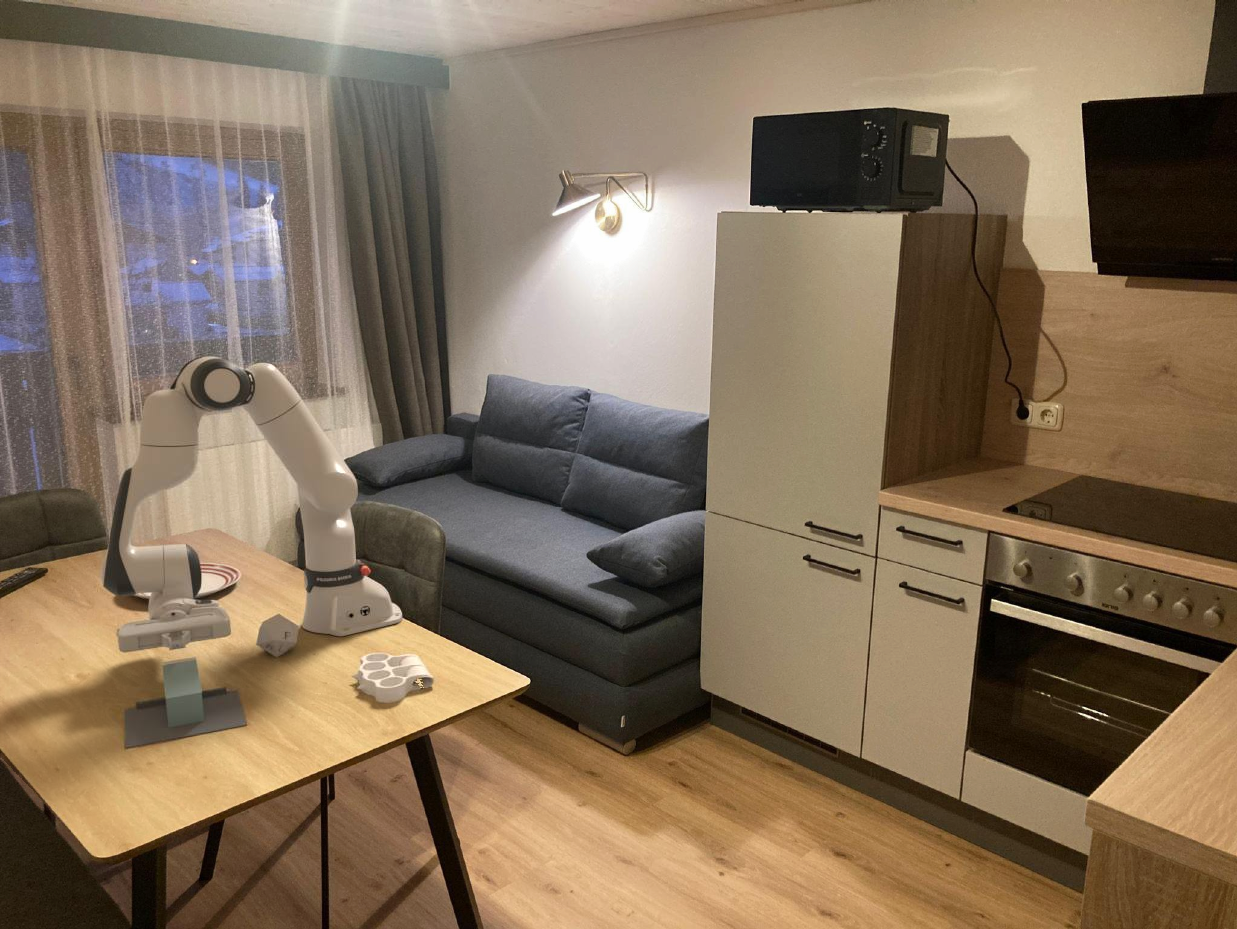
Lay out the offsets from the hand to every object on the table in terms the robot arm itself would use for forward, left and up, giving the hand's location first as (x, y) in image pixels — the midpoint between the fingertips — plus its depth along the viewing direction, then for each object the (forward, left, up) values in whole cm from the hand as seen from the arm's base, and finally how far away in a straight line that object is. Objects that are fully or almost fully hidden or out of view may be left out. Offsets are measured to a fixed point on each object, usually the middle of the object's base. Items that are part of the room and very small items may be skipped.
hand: (177, 645), depth 188 cm
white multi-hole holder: (-38, +10, -12) cm, 41 cm away
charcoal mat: (0, +9, -11) cm, 14 cm away
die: (-20, -15, -11) cm, 28 cm away
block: (0, -2, -7) cm, 7 cm away
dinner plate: (-4, -66, -12) cm, 67 cm away
